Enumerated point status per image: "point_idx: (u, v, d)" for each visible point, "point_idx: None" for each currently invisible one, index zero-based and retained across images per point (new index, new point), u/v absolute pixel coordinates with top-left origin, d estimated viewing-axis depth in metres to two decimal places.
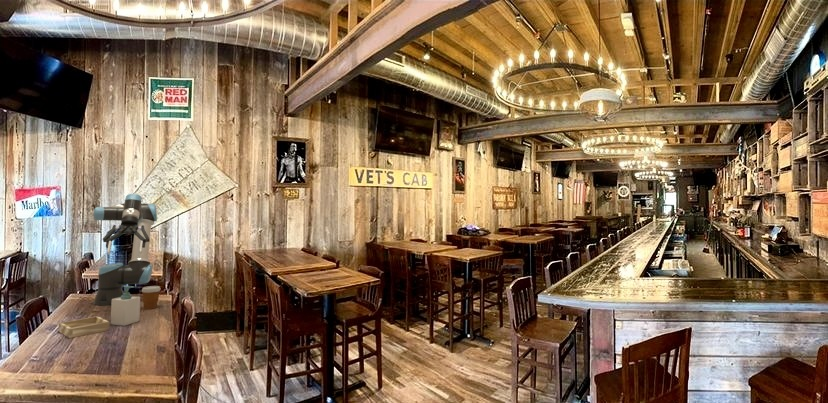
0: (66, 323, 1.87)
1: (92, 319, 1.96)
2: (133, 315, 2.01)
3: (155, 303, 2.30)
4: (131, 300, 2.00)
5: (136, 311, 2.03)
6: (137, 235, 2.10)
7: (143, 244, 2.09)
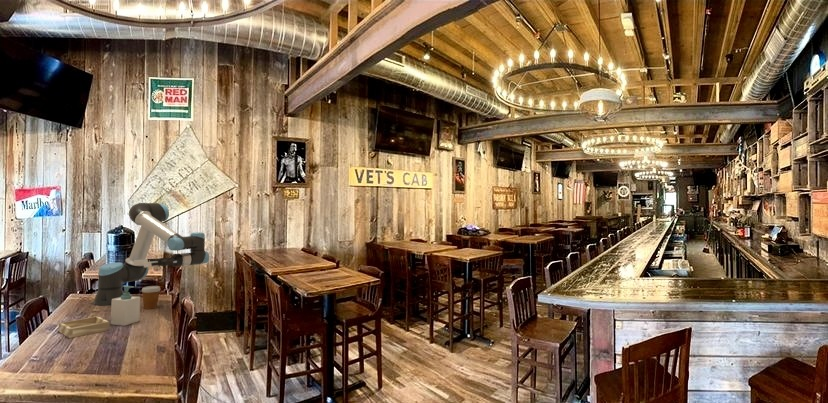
0: (66, 323, 1.87)
1: (92, 319, 1.96)
2: (133, 315, 2.01)
3: (155, 303, 2.30)
4: (131, 300, 2.00)
5: (136, 311, 2.03)
6: None
7: None
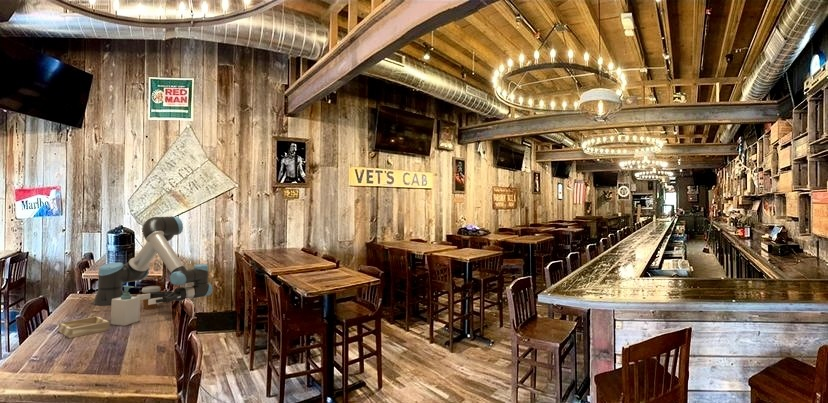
0: (66, 323, 1.87)
1: (92, 319, 1.96)
2: (133, 315, 2.01)
3: None
4: (131, 300, 2.00)
5: (136, 311, 2.03)
6: (158, 296, 2.19)
7: None
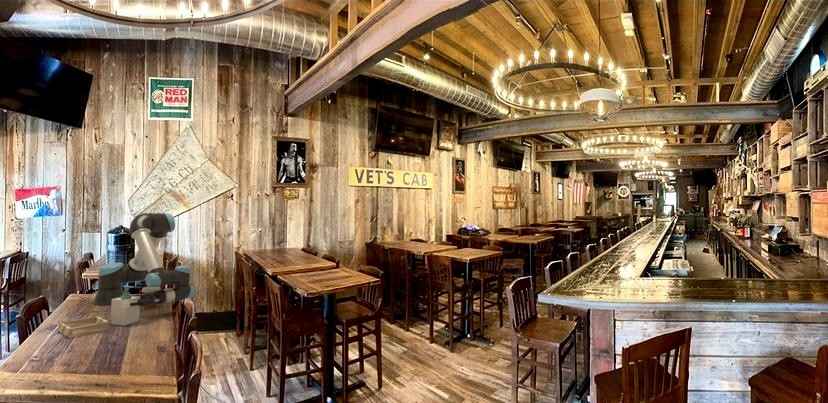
0: (66, 323, 1.87)
1: (92, 319, 1.96)
2: (133, 315, 2.01)
3: None
4: (131, 300, 2.00)
5: (136, 311, 2.03)
6: None
7: None
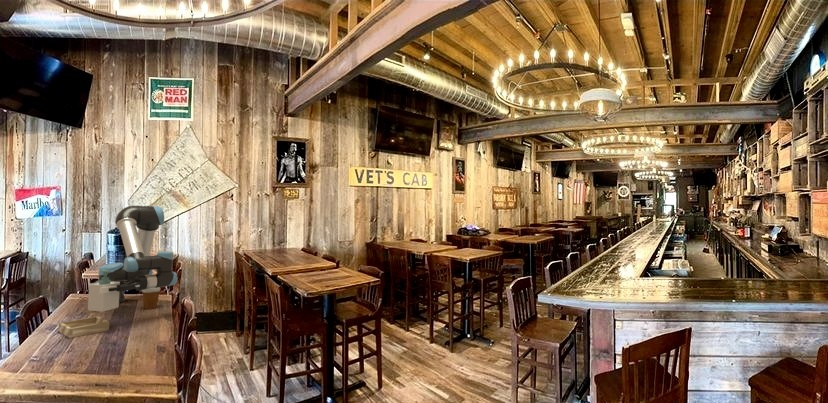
0: (66, 323, 1.87)
1: (92, 319, 1.96)
2: (111, 301, 1.93)
3: (155, 303, 2.30)
4: (110, 285, 1.91)
5: (115, 297, 1.94)
6: None
7: None
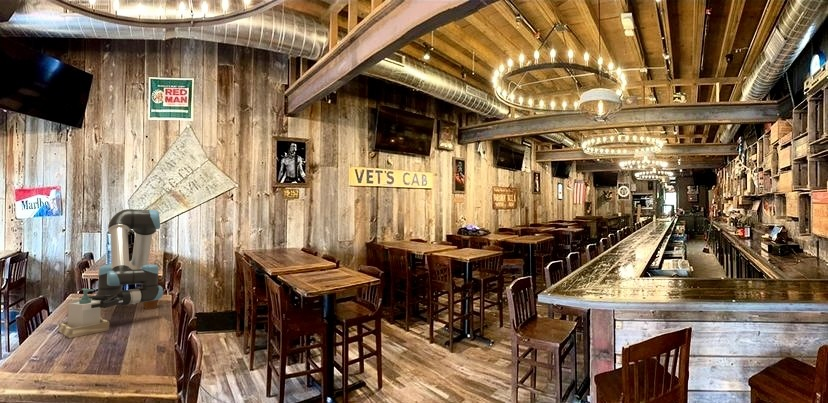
0: (66, 323, 1.87)
1: None
2: (92, 320, 1.87)
3: (155, 303, 2.30)
4: None
5: (96, 316, 1.89)
6: None
7: None
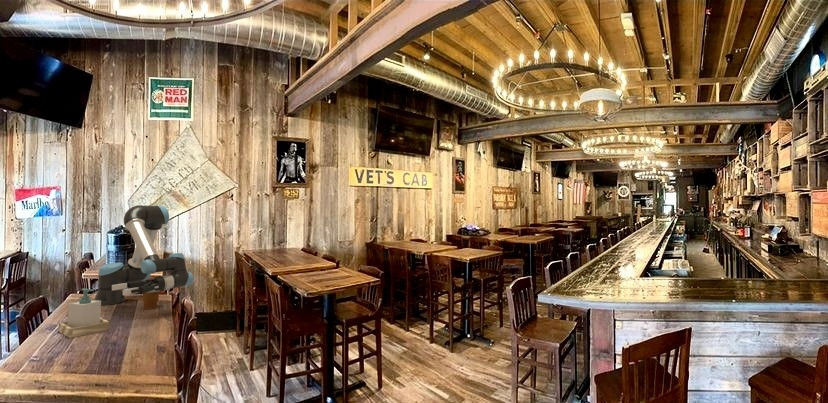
0: (66, 323, 1.87)
1: None
2: (92, 320, 1.87)
3: (155, 303, 2.30)
4: (90, 304, 1.86)
5: (96, 316, 1.89)
6: (136, 286, 2.10)
7: None
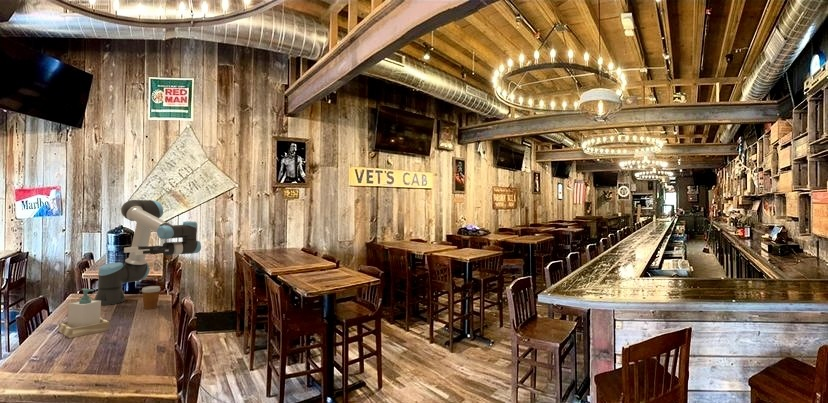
0: (66, 323, 1.87)
1: None
2: (92, 320, 1.87)
3: (155, 303, 2.30)
4: (90, 304, 1.86)
5: (96, 316, 1.89)
6: None
7: None
